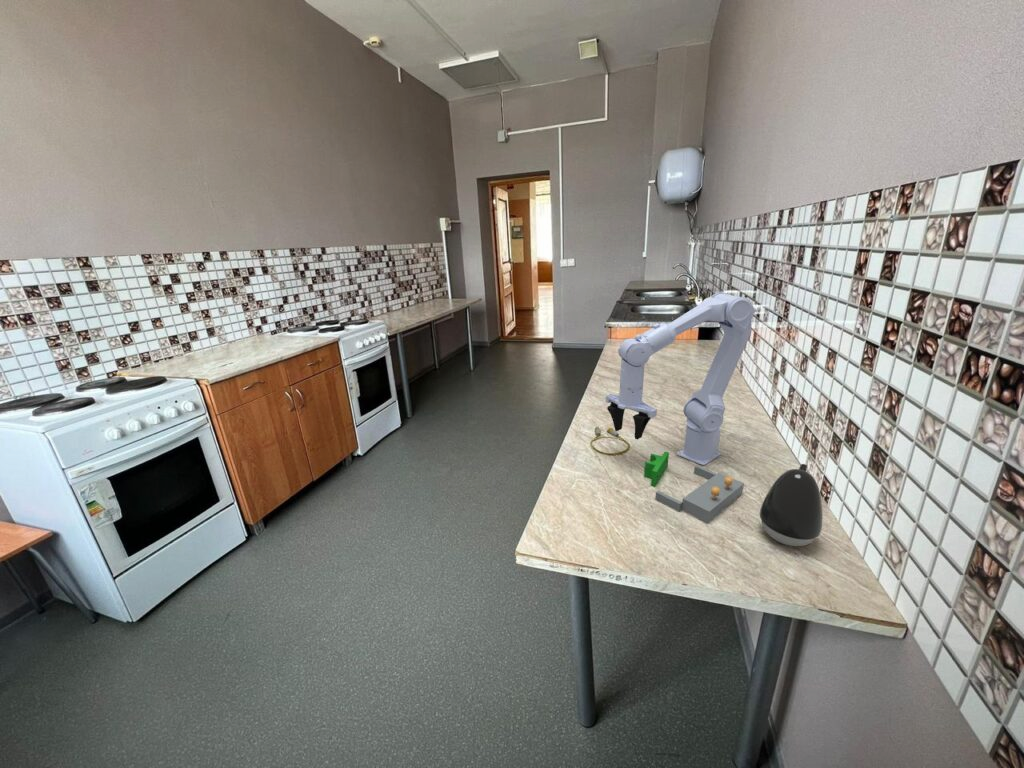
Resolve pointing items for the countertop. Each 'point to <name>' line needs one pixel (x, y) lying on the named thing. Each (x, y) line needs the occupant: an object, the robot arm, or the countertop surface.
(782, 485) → the black rounded dome
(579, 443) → the countertop surface
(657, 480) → the pipe clamp
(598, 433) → the extension cord
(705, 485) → the pegged forked bracket
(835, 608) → the countertop surface
